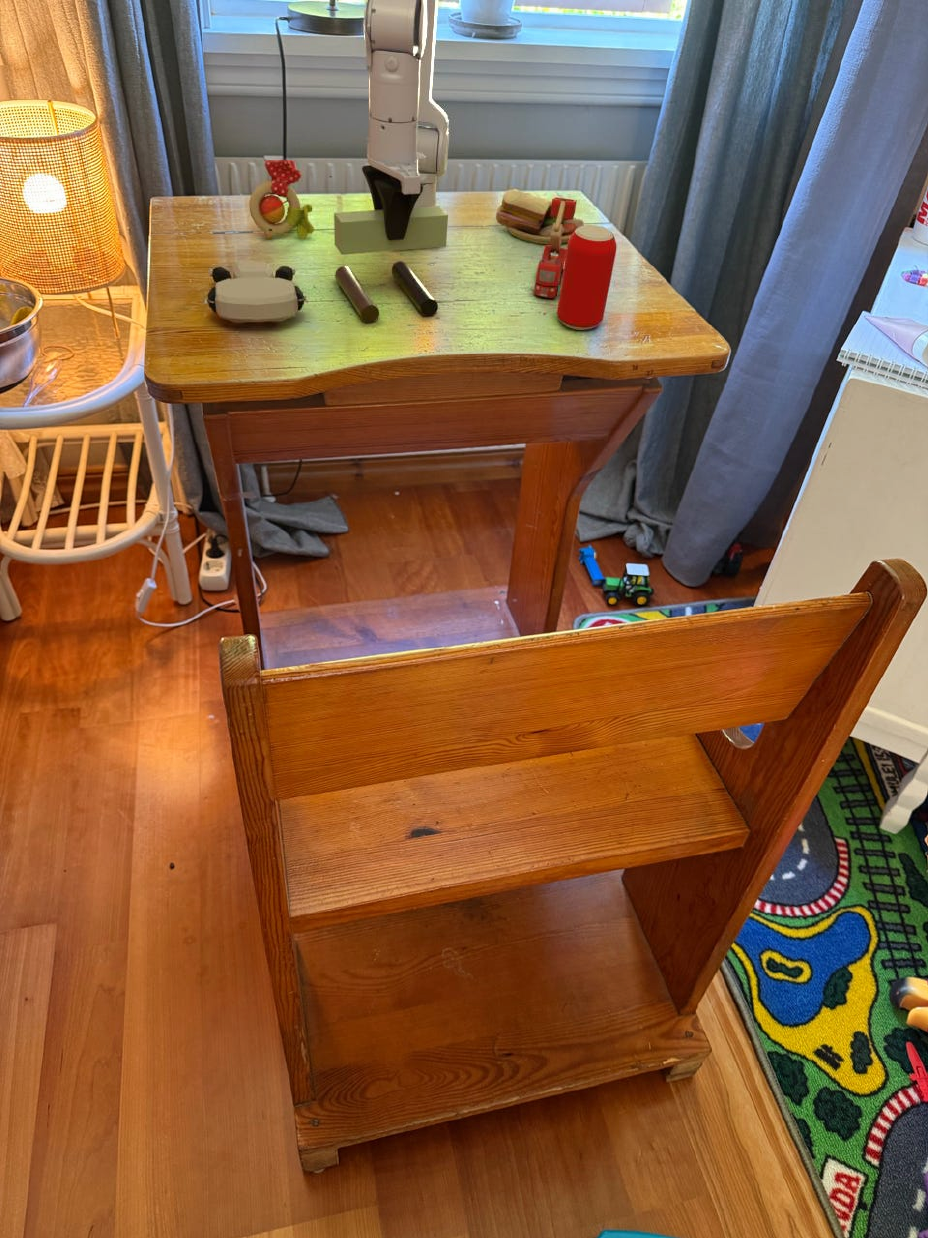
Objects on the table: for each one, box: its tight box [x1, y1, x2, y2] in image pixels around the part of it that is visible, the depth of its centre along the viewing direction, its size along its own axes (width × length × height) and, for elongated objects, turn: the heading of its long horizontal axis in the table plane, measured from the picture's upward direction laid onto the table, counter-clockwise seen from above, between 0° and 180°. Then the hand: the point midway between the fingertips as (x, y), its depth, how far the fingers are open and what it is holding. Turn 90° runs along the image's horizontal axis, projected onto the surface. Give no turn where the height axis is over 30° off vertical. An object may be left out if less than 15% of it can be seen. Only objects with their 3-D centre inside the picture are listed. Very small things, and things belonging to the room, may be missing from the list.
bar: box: [333, 205, 449, 256], centre depth 116 cm, size 14×3×4 cm, turn 112°
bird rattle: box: [249, 158, 315, 240], centre depth 131 cm, size 6×11×9 cm
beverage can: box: [556, 224, 618, 331], centre depth 117 cm, size 6×6×12 cm
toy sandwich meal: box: [495, 188, 585, 245], centre depth 142 cm, size 12×14×5 cm
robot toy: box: [204, 260, 309, 324], centre depth 116 cm, size 12×4×15 cm
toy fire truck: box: [533, 196, 578, 299], centre depth 127 cm, size 3×14×10 cm, turn 169°
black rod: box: [391, 260, 439, 318], centre depth 123 cm, size 12×2×2 cm, turn 22°
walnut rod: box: [334, 265, 380, 324], centre depth 120 cm, size 12×2×2 cm, turn 22°
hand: (391, 233), depth 117 cm, fingers closed on bar, 3 cm apart
